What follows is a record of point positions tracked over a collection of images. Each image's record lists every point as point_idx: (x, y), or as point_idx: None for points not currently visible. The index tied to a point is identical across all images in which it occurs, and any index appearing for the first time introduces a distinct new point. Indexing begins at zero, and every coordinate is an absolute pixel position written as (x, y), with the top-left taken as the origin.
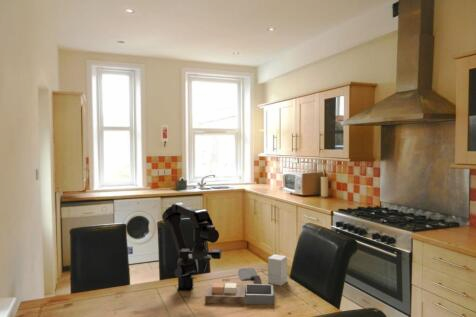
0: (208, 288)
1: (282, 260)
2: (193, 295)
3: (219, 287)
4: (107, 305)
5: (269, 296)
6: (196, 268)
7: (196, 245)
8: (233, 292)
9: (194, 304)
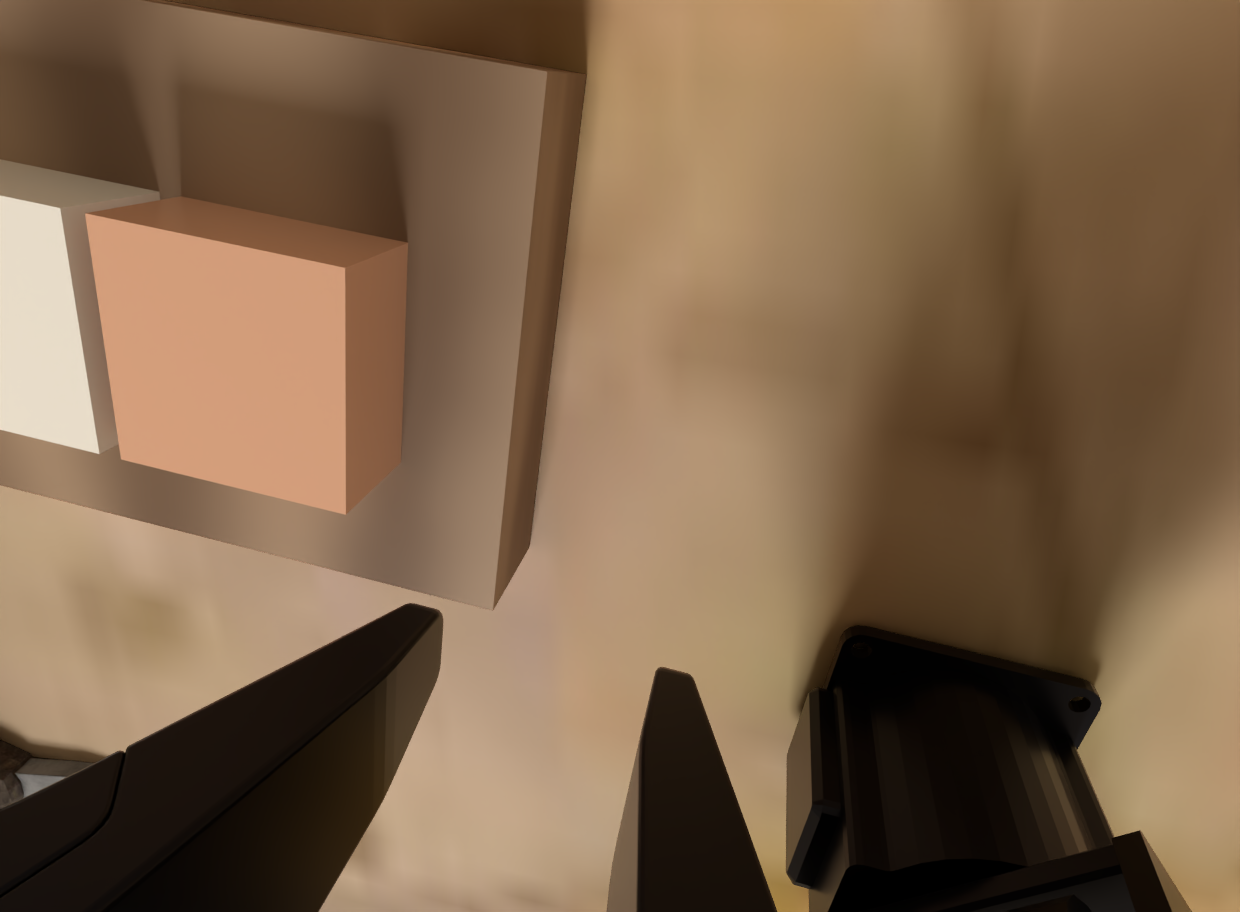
0: (497, 461)
1: None
2: (808, 440)
3: (172, 232)
4: None
5: None
6: (673, 798)
7: None
8: None
9: (812, 9)
